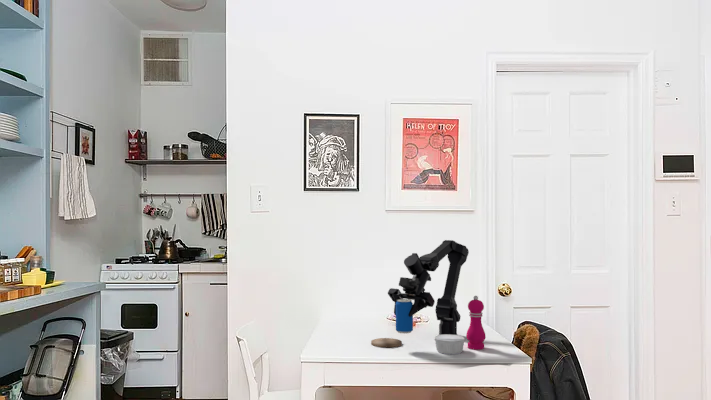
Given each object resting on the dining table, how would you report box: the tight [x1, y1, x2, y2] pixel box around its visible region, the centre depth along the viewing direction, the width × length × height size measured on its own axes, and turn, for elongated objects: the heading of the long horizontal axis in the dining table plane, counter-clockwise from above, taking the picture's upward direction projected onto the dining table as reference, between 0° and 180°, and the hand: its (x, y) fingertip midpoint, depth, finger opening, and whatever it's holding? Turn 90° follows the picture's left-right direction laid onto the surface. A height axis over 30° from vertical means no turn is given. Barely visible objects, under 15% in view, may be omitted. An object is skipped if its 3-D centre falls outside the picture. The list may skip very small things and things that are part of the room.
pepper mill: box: [465, 295, 486, 351], centre depth 216 cm, size 7×7×20 cm
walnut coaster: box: [370, 337, 403, 348], centre depth 222 cm, size 12×12×1 cm
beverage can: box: [395, 298, 414, 334], centre depth 213 cm, size 6×6×12 cm
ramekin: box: [434, 334, 466, 355], centre depth 211 cm, size 11×11×5 cm
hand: (401, 315), depth 212 cm, fingers closed on beverage can, 6 cm apart
